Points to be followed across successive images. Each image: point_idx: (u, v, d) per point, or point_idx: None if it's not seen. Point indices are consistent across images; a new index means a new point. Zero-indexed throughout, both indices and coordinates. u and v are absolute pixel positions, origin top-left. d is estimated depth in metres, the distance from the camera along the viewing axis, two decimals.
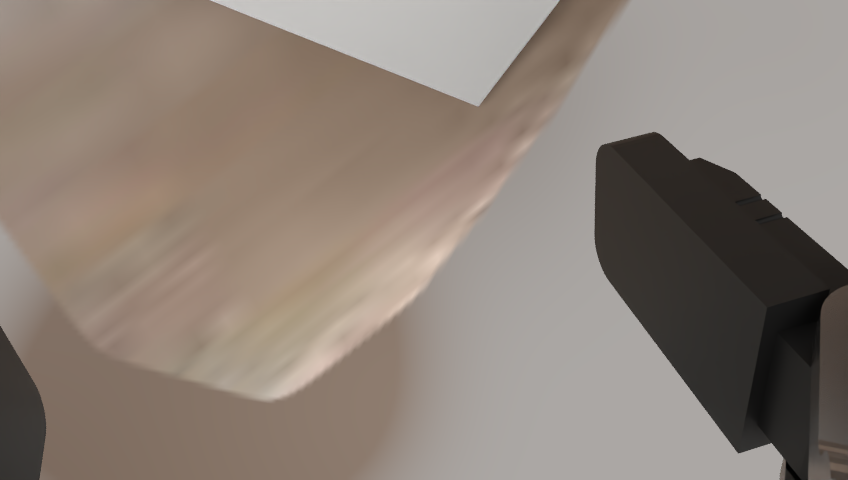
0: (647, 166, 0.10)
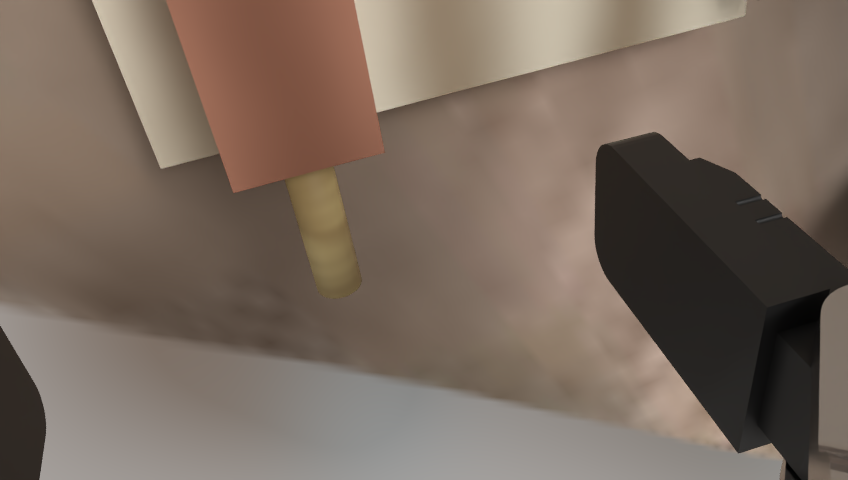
0: (647, 166, 0.10)
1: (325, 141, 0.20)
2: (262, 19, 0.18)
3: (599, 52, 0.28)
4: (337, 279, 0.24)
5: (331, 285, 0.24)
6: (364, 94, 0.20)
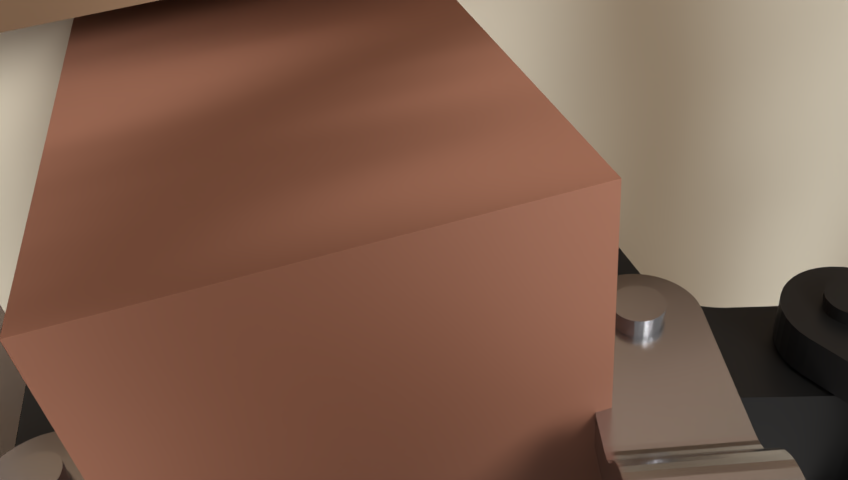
0: None
1: None
2: None
3: None
4: None
5: None
6: None
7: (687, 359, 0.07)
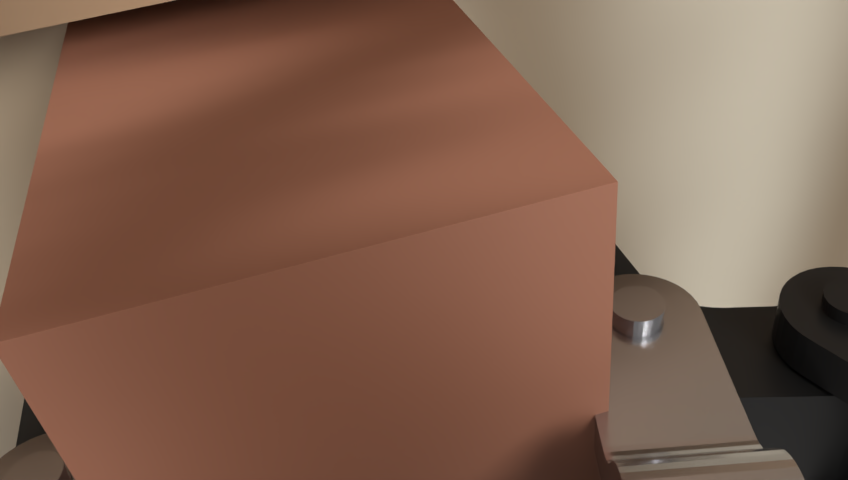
0: None
1: None
2: None
3: None
4: None
5: None
6: None
7: (685, 359, 0.07)
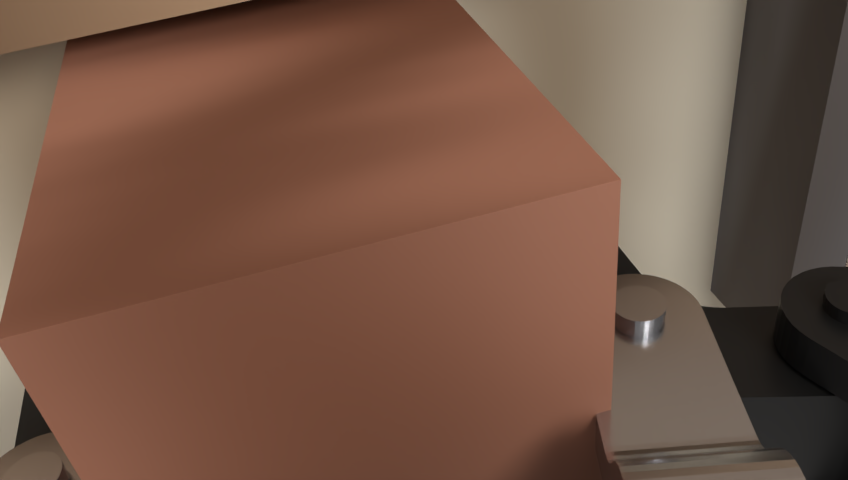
0: None
1: None
2: None
3: None
4: None
5: None
6: None
7: (687, 359, 0.07)
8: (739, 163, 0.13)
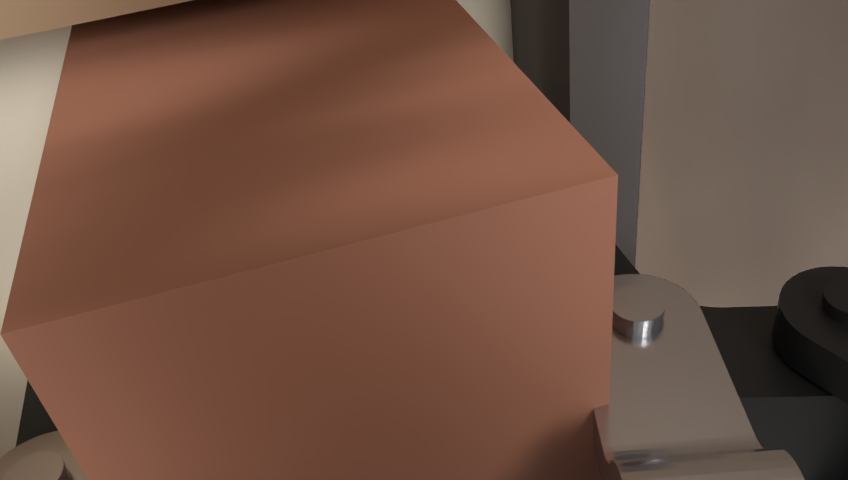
0: None
1: None
2: None
3: None
4: None
5: None
6: None
7: (686, 359, 0.07)
8: None
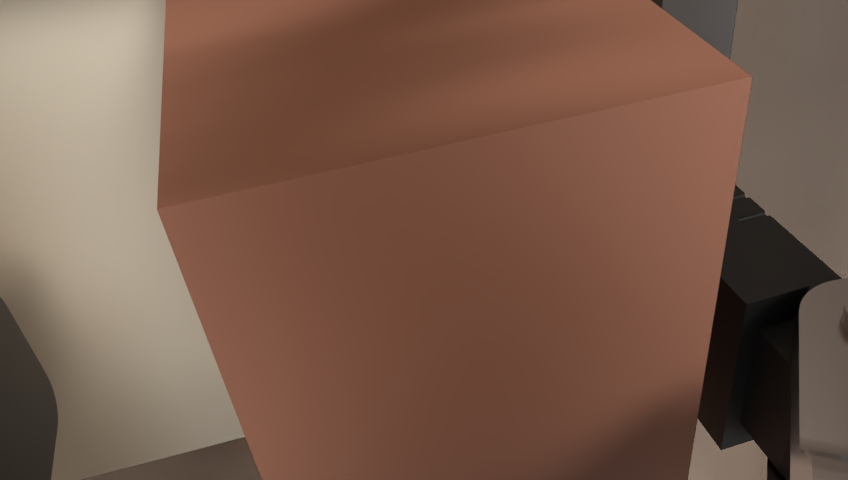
0: None
1: None
2: (479, 424, 0.07)
3: None
4: None
5: None
6: None
7: None
8: None
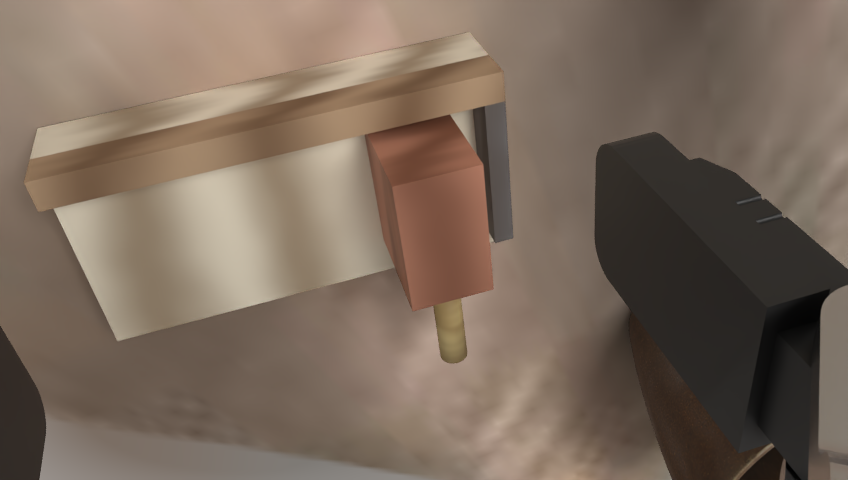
0: (647, 166, 0.10)
1: (463, 284, 0.37)
2: (442, 230, 0.35)
3: None
4: (455, 352, 0.41)
5: (451, 356, 0.41)
6: (486, 261, 0.37)
7: None
8: None
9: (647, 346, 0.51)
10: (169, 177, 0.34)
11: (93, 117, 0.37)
